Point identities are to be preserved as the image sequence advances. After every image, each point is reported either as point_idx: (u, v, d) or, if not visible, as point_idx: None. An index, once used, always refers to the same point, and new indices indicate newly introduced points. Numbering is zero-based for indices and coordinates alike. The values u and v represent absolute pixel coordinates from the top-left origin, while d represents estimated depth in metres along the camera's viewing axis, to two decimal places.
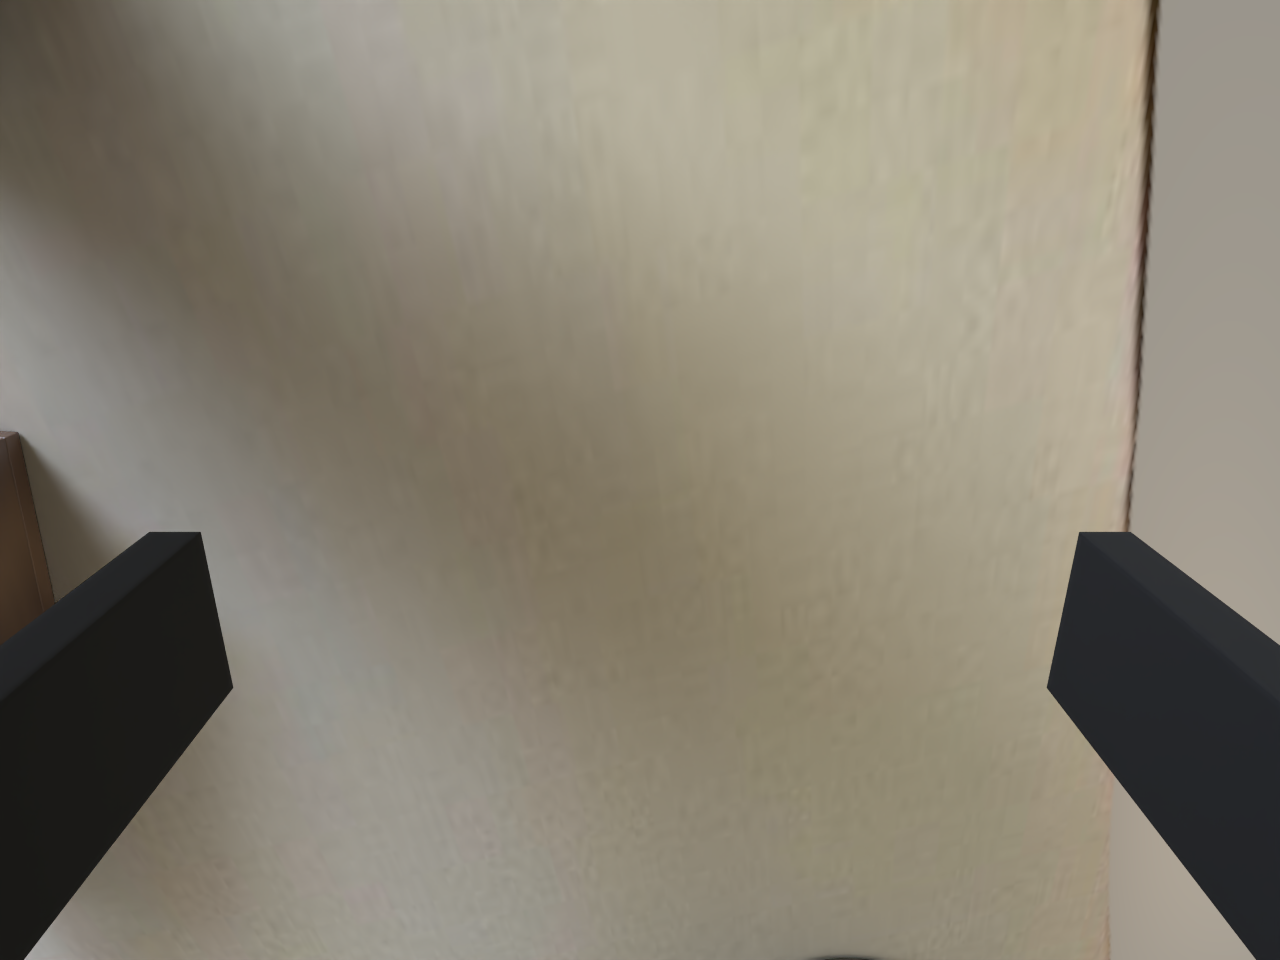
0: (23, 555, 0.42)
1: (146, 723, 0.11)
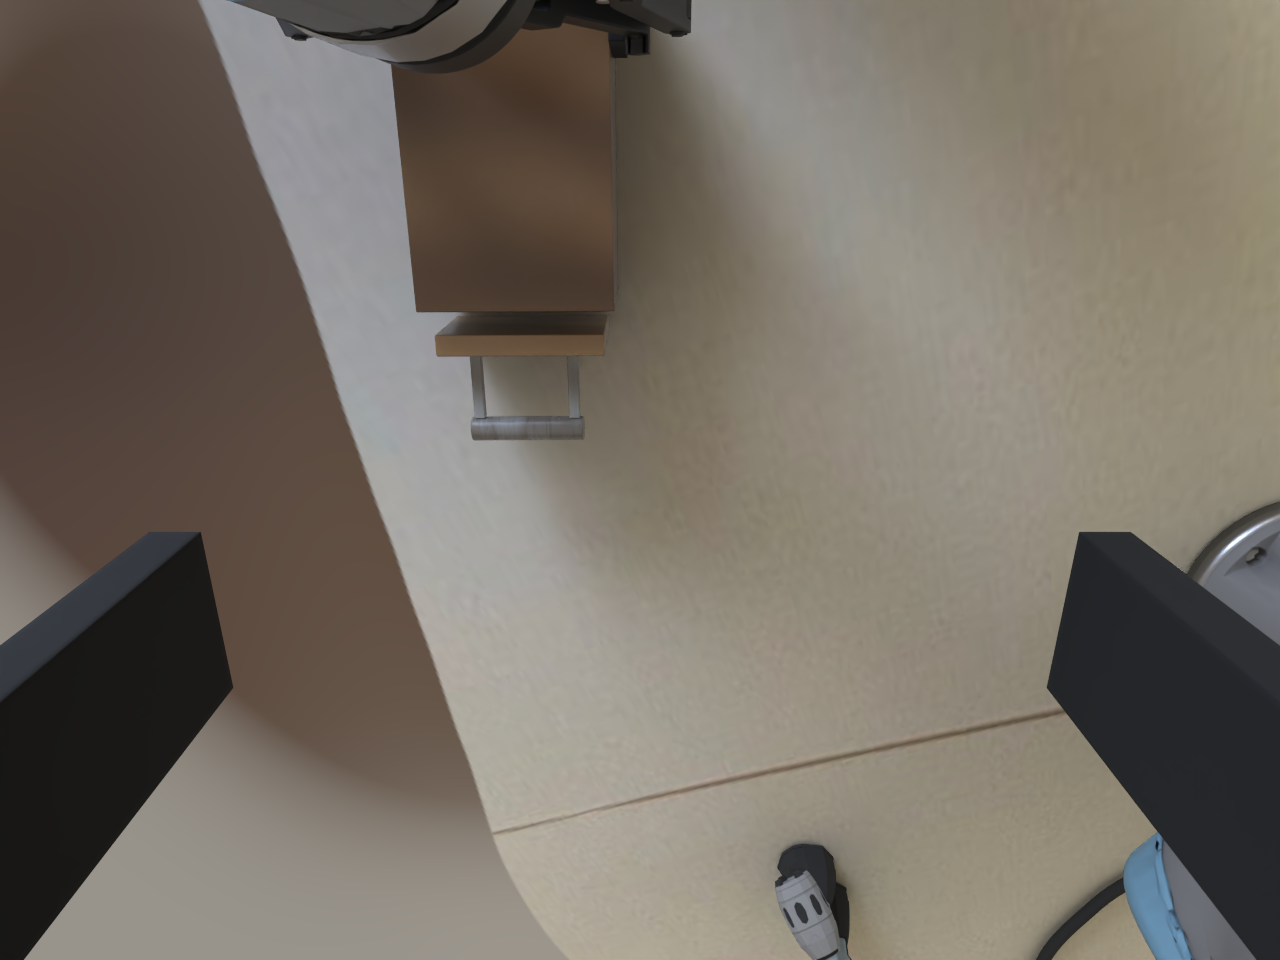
0: None
1: (146, 723, 0.11)
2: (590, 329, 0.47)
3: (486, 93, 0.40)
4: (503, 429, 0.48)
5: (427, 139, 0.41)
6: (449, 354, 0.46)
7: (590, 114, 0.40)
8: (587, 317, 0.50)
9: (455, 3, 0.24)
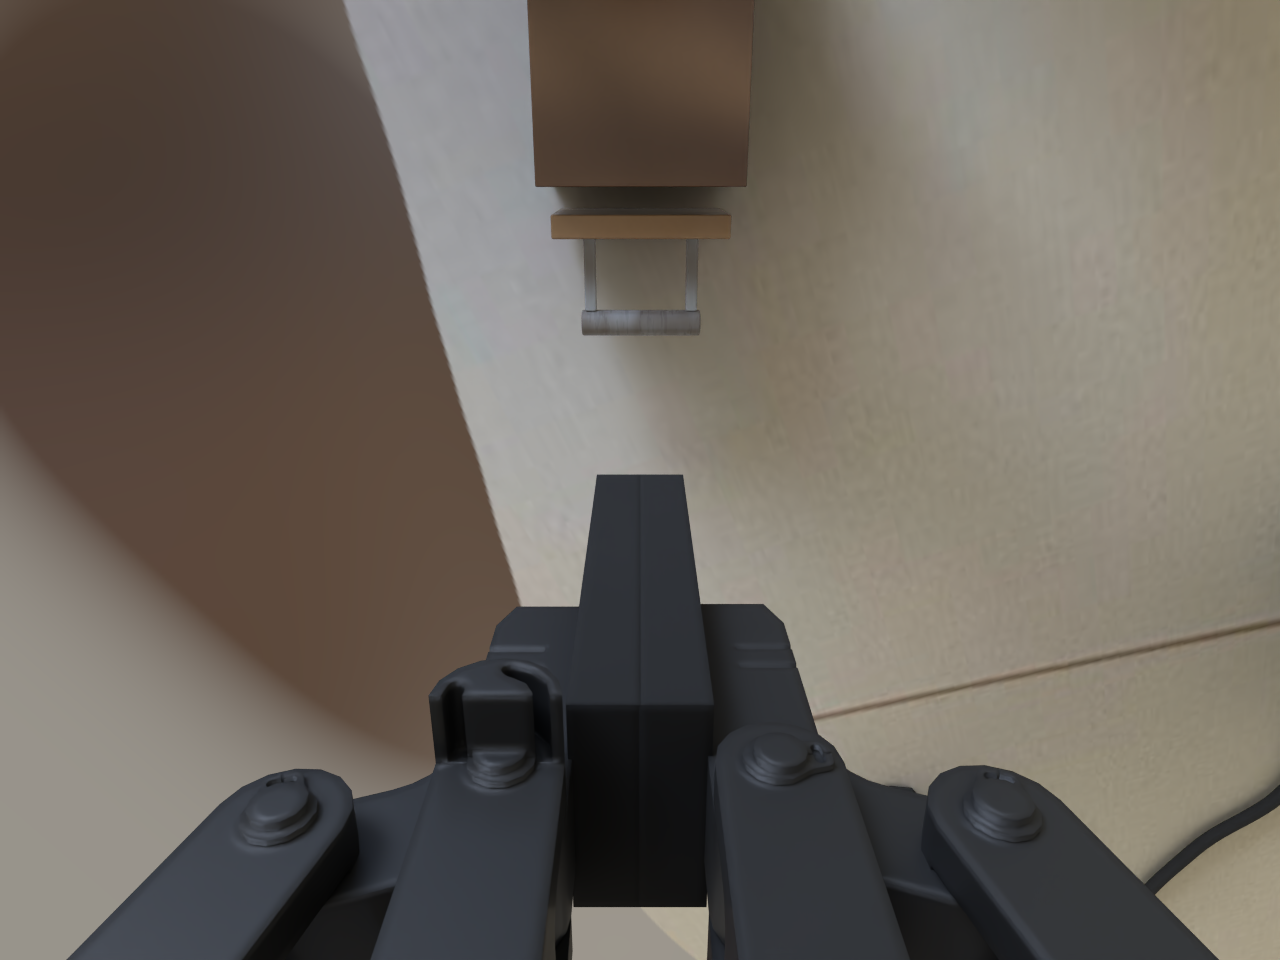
0: None
1: None
2: (712, 213, 0.44)
3: None
4: (616, 322, 0.45)
5: None
6: (565, 236, 0.43)
7: None
8: (700, 208, 0.48)
9: None
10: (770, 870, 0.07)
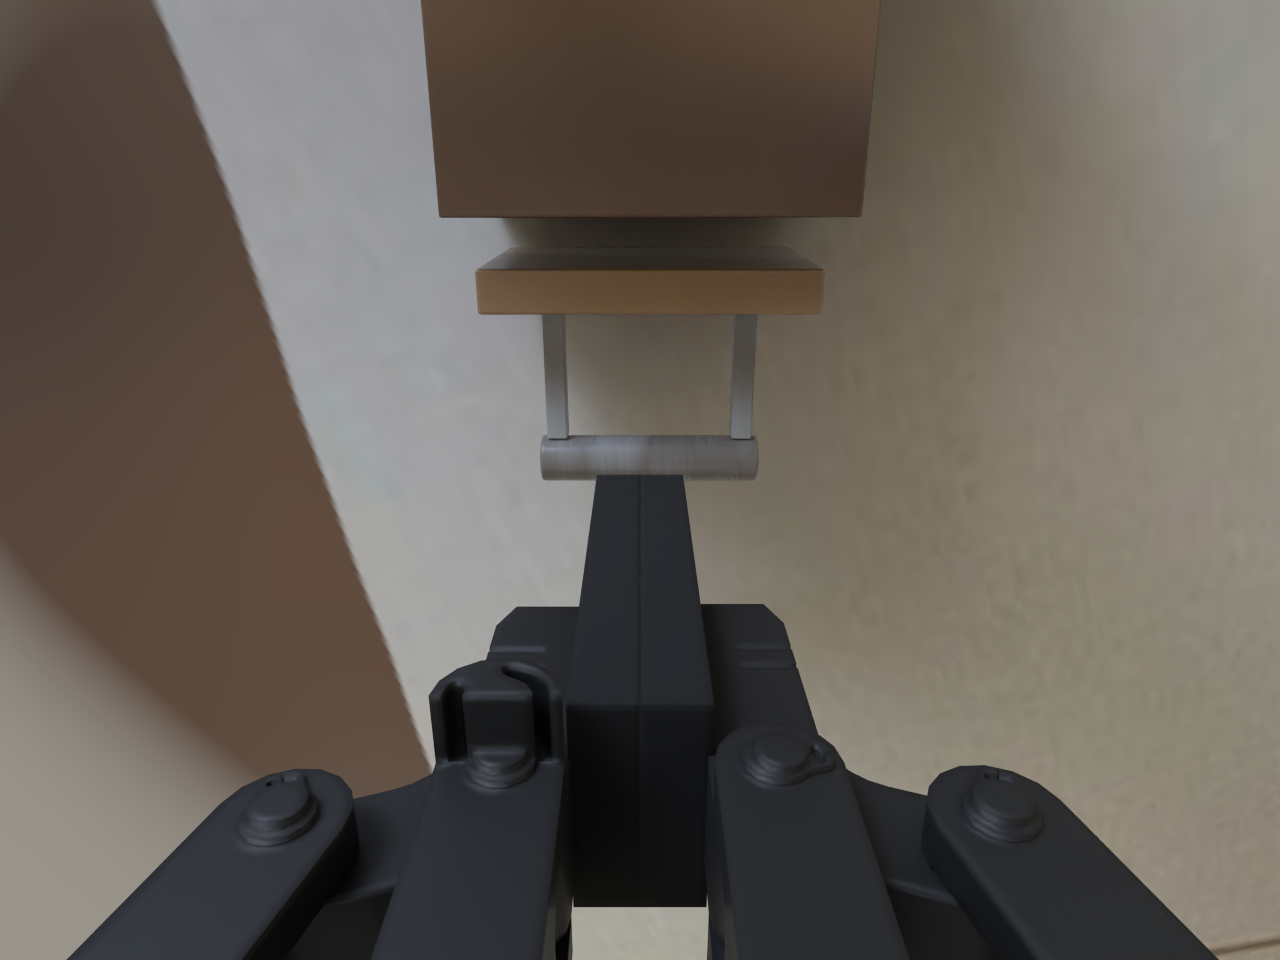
0: None
1: None
2: (785, 263, 0.23)
3: None
4: (604, 460, 0.25)
5: None
6: (504, 310, 0.22)
7: None
8: (754, 249, 0.27)
9: None
10: (770, 870, 0.07)
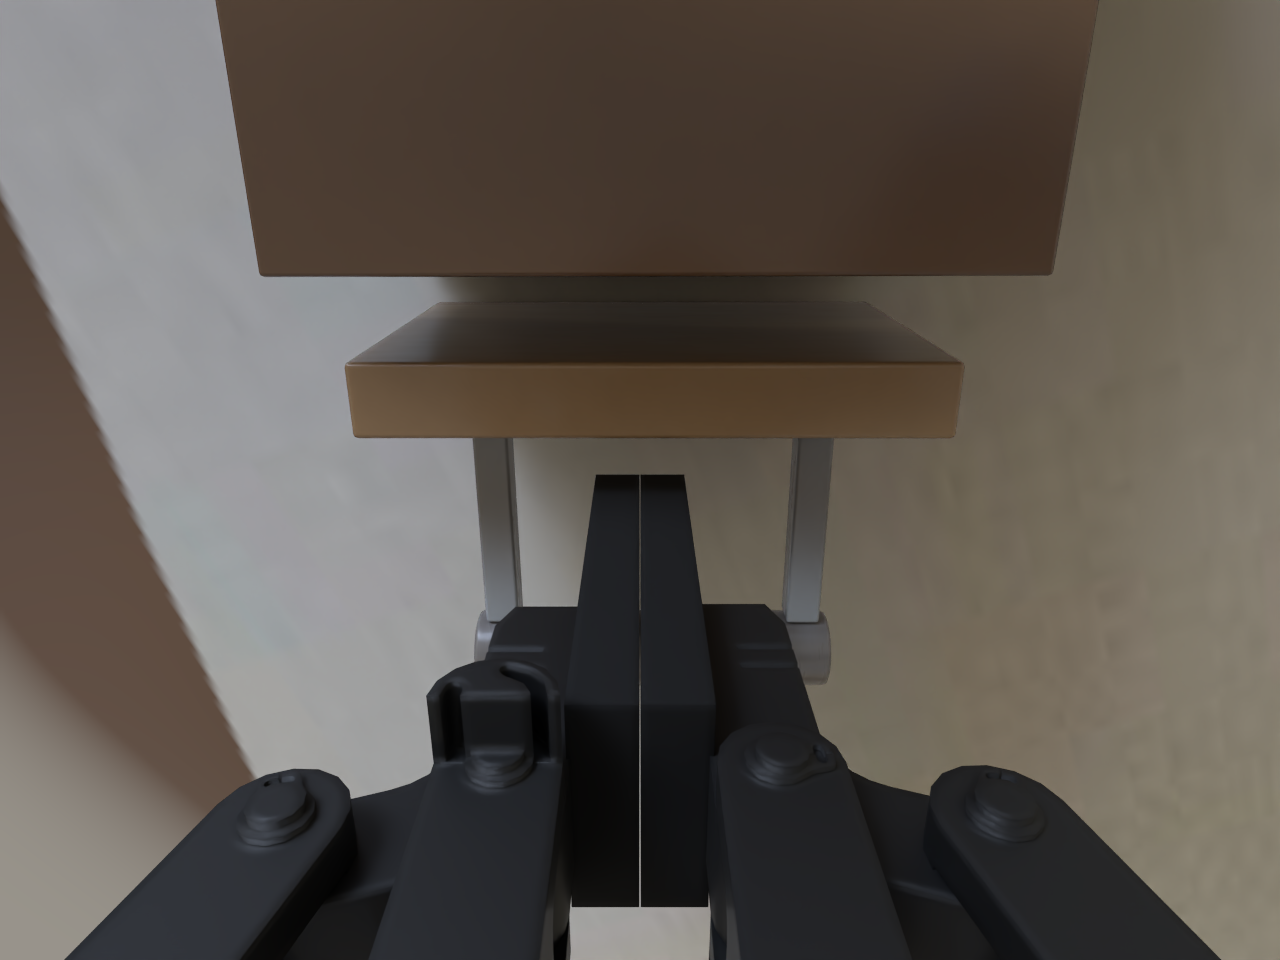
0: None
1: None
2: (886, 343, 0.14)
3: None
4: None
5: None
6: (398, 431, 0.13)
7: None
8: (816, 306, 0.17)
9: None
10: (772, 870, 0.07)
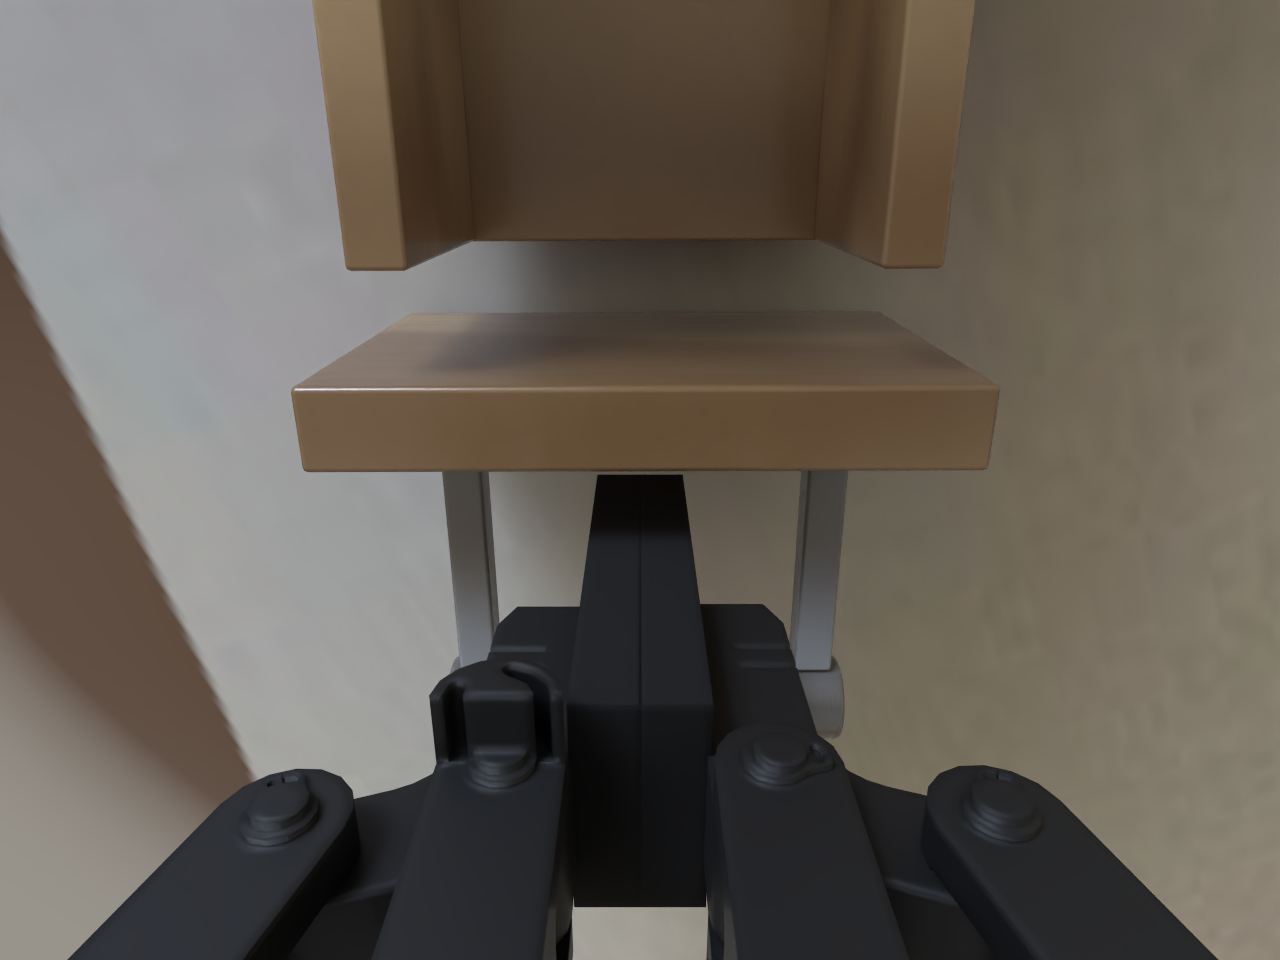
0: None
1: None
2: (907, 361, 0.12)
3: None
4: None
5: None
6: (354, 465, 0.11)
7: None
8: (824, 317, 0.16)
9: None
10: (770, 870, 0.07)
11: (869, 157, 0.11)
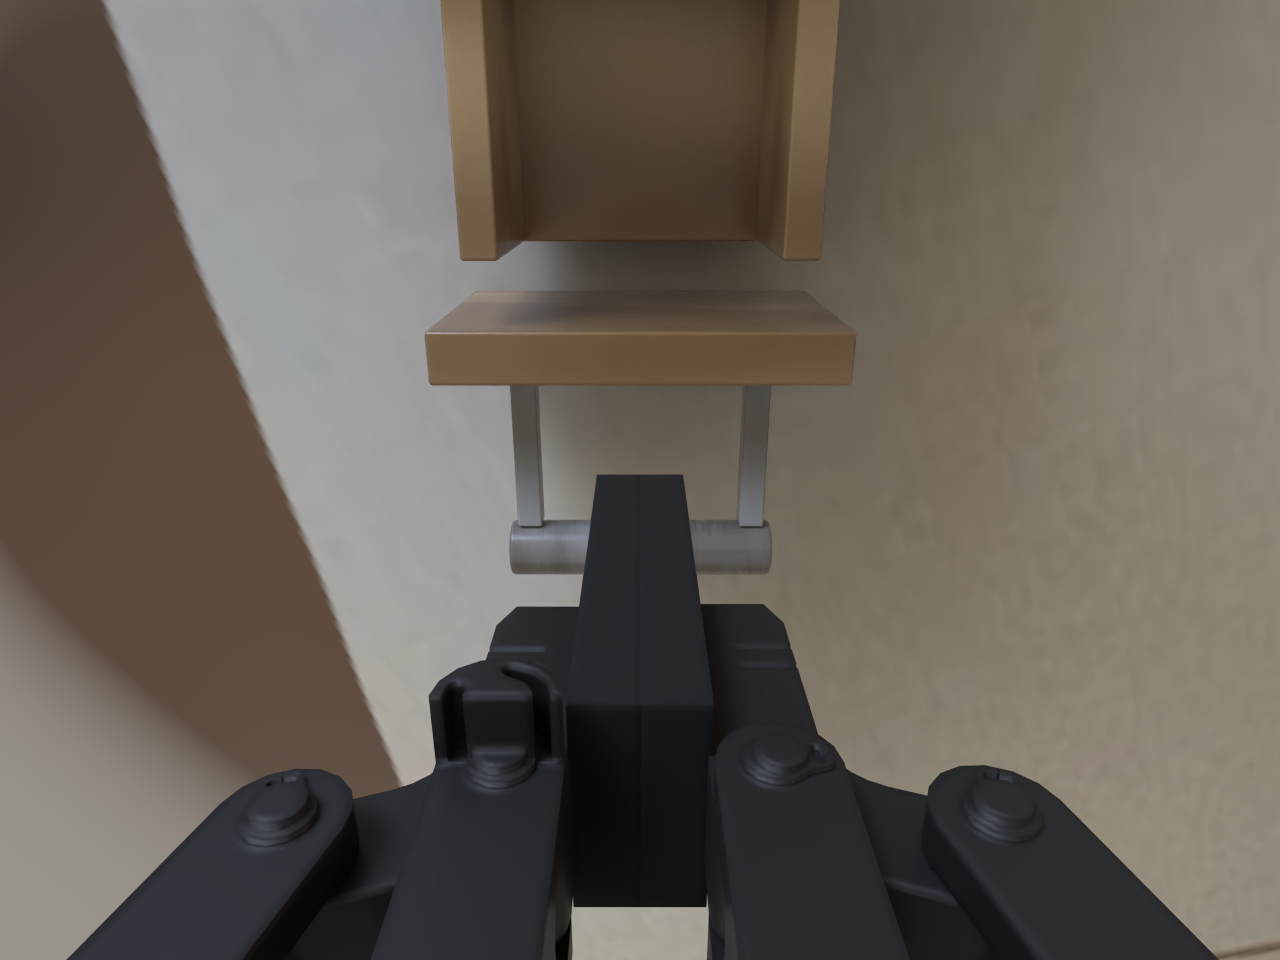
0: None
1: None
2: (806, 319, 0.19)
3: None
4: None
5: None
6: (461, 380, 0.18)
7: None
8: (765, 294, 0.23)
9: None
10: (770, 870, 0.07)
11: (778, 192, 0.18)
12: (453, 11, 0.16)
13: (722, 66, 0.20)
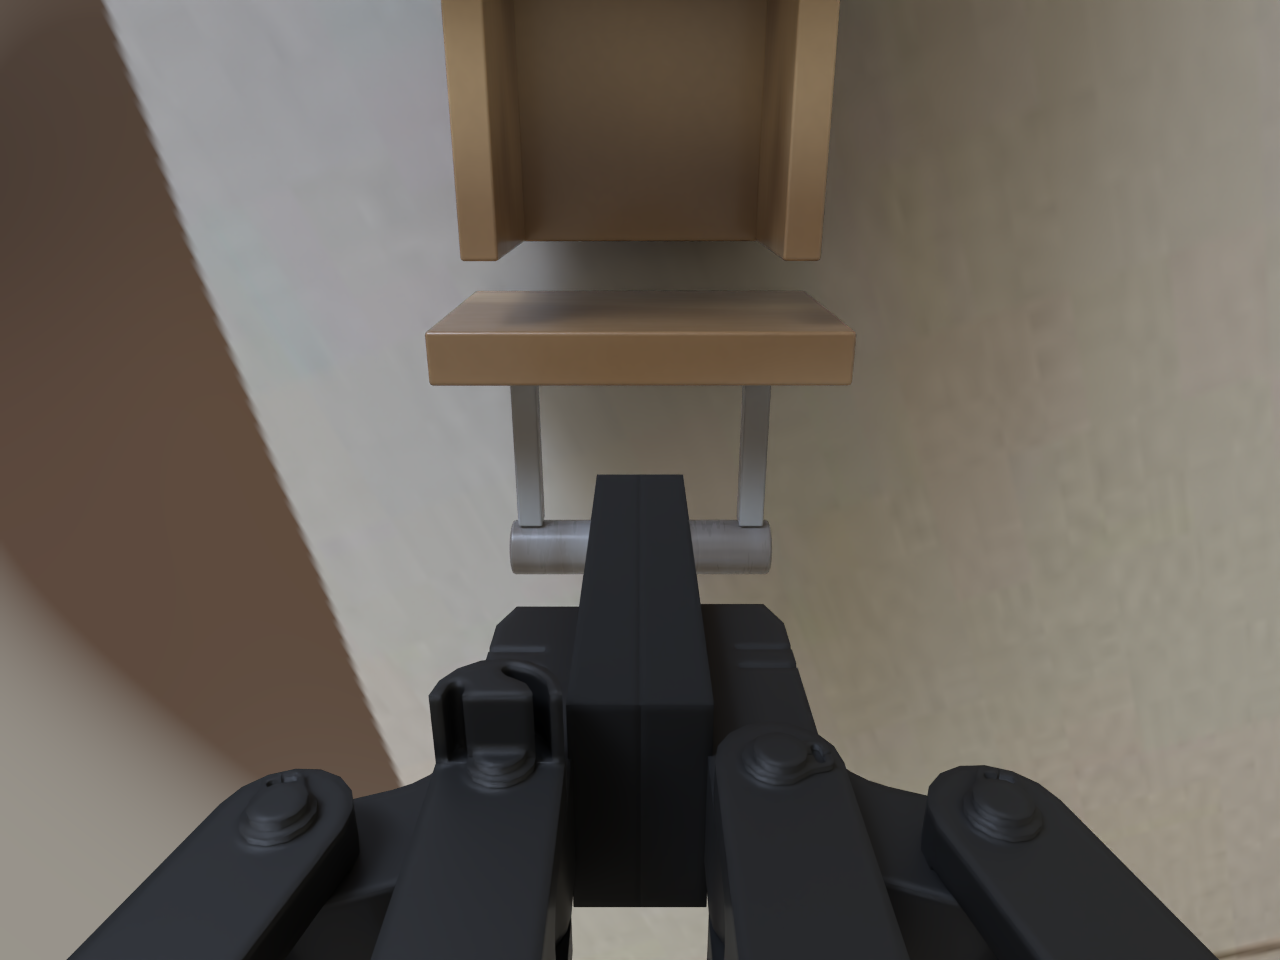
0: None
1: None
2: (806, 320, 0.19)
3: None
4: None
5: None
6: (462, 380, 0.18)
7: None
8: (765, 294, 0.23)
9: None
10: (770, 870, 0.07)
11: (779, 192, 0.18)
12: (453, 11, 0.16)
13: (722, 66, 0.20)
